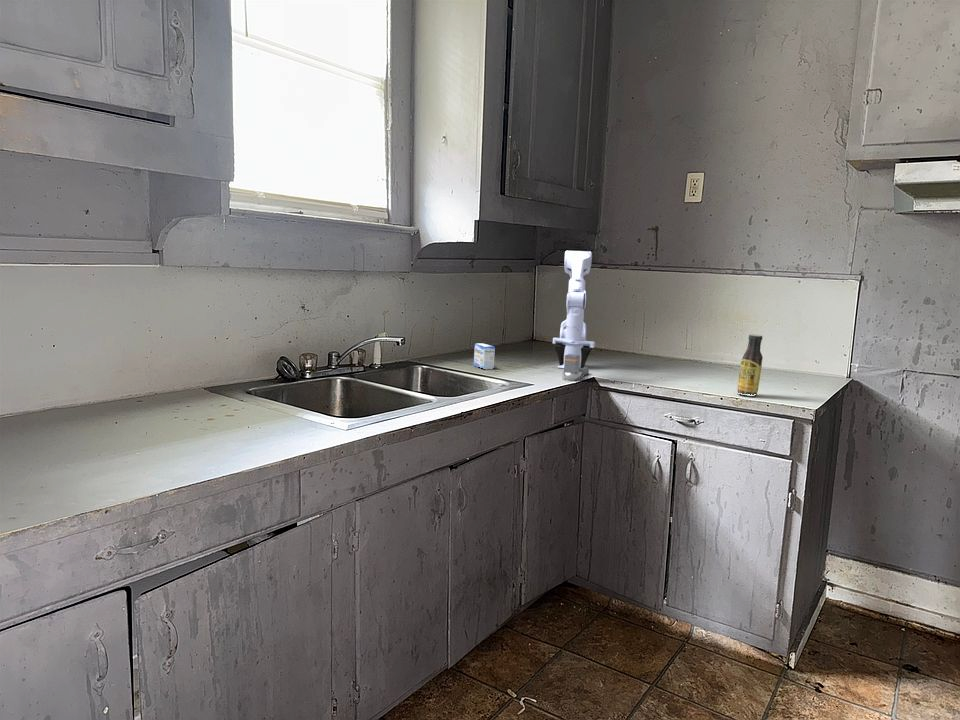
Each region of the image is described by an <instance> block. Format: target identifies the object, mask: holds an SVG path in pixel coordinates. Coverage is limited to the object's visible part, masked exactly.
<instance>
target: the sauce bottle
mask: <svg viewBox="0 0 960 720" xmlns="http://www.w3.org/2000/svg"><path fill="white" fill-rule="evenodd" d="M762 341H763V335H762V334H756V333H755V334H754V333H753V334H752V333H750V334H748V342H747V343H748V344H747V348H746V350H745V352H744V353H743V356H742V359H741V362H740V366H739V367H740V368H739V374H738V375H739V376H738V383H737V388H736V389H737V392H738V393H742V394H750V395H751V394H752V395H754V394H758V393H759V386H760V379H761V373H762V366H763V355H762V352H761V344H762ZM738 393H737V394H738Z"/></svg>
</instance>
